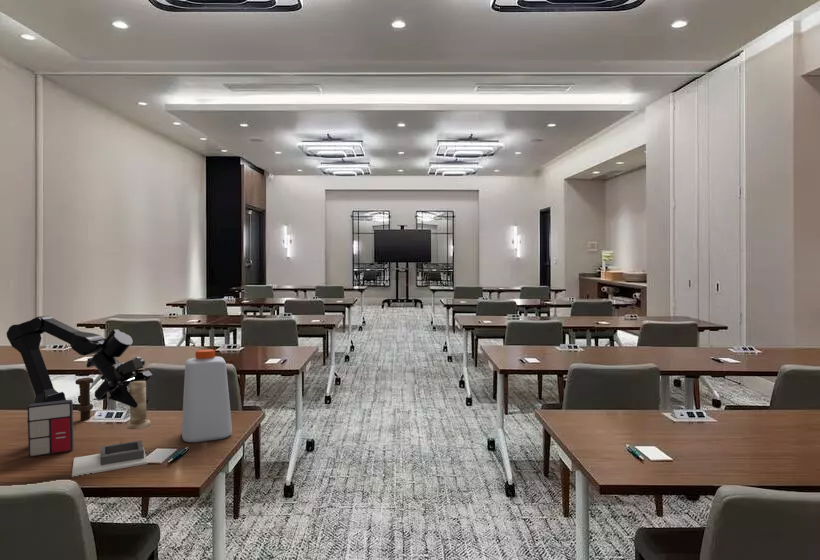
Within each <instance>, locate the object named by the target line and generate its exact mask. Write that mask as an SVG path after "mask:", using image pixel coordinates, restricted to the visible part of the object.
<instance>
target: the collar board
mask: <svg viewBox="0 0 820 560" xmlns="http://www.w3.org/2000/svg"><path fill="white" fill-rule="evenodd" d="M99 449H100V452H99V453H95V454H90V455H84V456H75V457H73V463H72V464H73V465H72V471H71V477H72V478H75V477H80V476H79V475H81V476H85V475H84V474H86V475H91V474H90V473H92V474H97V473H102V472H108V471H109V472H110V471H113V470H114V471H115V470H121V469H125V468H133V467H136V466H137V467H138V466H144V465H148V458H147V455H146V452H145V448H144V446H143V441H142V440H134V441H128V442H121V443H115V444H107V445H103V446H100V448H99ZM74 476H75V477H74Z"/></svg>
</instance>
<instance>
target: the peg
mask: <svg viewBox="0 0 820 560" xmlns="http://www.w3.org/2000/svg"><path fill="white" fill-rule="evenodd" d="M129 392H130V395H131V396H132V397H133V399H134V400H135V401H136V403H137V405H138V406H137V407H136V408H134V407H131V406H129V416H130V417H129V418H130V419H129V420H130V421H128V422H126V429H127V430H141V429H145V428H148V427H150V426H151V420H150V419H147V404H146V395H147V382H146V381H134V382H130V388H129Z"/></svg>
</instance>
